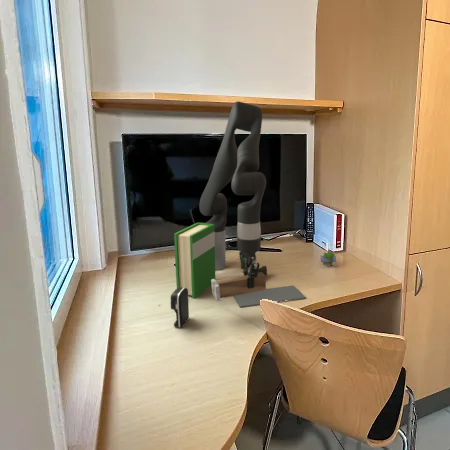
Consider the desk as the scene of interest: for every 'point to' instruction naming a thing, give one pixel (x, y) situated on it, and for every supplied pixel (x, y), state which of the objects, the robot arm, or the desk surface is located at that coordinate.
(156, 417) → the desk surface
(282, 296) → the mat
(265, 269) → the dark brown bar
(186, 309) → the battery charger
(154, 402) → the desk surface
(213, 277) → the hardback book
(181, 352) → the desk surface
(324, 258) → the geometric puzzle
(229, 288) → the stick
